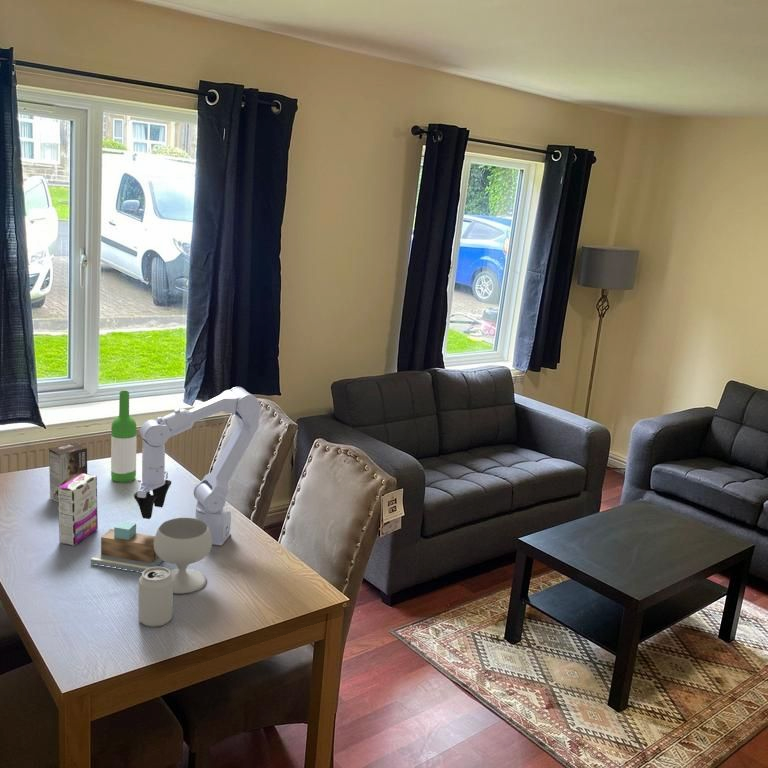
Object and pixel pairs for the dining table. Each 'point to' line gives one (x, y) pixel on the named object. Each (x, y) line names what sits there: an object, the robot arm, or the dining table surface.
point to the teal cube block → (125, 530)
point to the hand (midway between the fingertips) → (152, 512)
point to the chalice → (184, 551)
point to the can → (155, 596)
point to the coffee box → (66, 465)
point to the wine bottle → (123, 443)
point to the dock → (123, 562)
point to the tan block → (129, 547)
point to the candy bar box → (77, 509)
